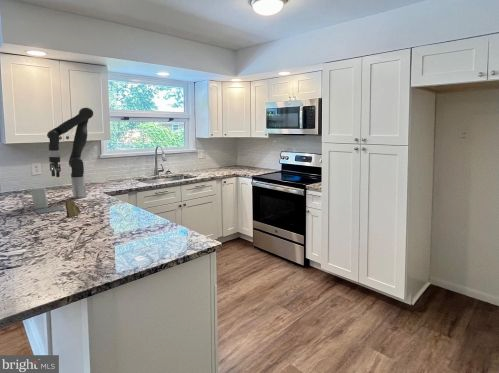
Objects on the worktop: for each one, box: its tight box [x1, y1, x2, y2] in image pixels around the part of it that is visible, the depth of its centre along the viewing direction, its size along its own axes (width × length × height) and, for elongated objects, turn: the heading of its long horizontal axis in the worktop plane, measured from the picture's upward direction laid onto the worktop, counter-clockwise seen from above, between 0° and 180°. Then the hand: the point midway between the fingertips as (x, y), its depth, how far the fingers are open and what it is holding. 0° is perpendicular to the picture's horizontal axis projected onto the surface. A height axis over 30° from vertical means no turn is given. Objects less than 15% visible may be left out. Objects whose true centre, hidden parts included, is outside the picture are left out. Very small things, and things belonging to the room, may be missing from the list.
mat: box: [34, 205, 66, 215], centre depth 235 cm, size 16×15×1 cm
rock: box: [64, 200, 81, 218], centre depth 220 cm, size 11×9×10 cm
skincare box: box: [30, 186, 49, 210], centre depth 241 cm, size 8×6×15 cm
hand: (55, 176), depth 265 cm, fingers open, 8 cm apart
